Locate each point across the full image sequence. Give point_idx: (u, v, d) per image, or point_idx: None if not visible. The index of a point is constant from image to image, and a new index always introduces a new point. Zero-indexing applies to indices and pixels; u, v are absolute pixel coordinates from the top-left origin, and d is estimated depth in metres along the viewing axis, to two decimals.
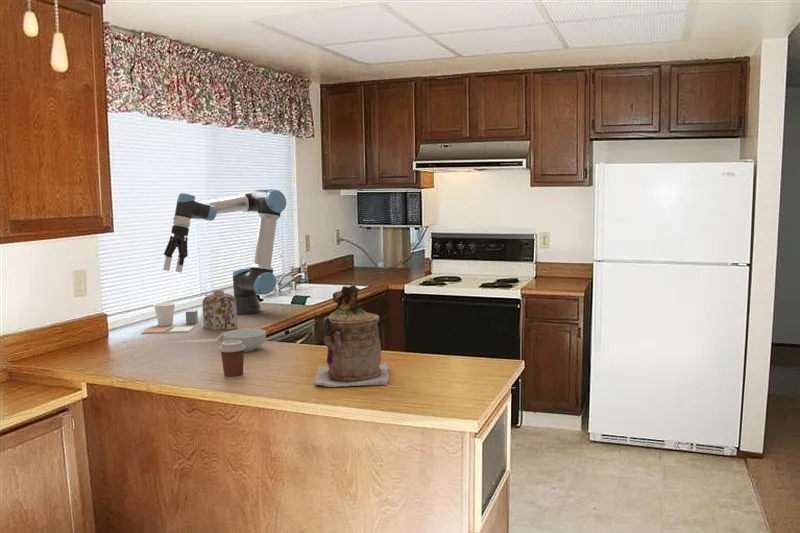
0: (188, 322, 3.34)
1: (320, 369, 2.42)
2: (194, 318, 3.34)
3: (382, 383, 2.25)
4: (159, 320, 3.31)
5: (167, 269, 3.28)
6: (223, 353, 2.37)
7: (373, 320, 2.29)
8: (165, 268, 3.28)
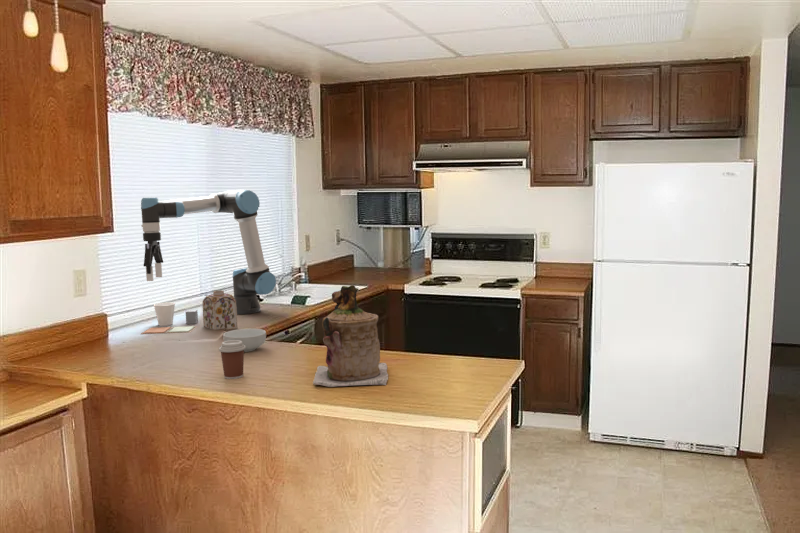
0: (188, 322, 3.34)
1: (319, 369, 2.42)
2: (194, 318, 3.34)
3: (381, 383, 2.25)
4: (159, 320, 3.31)
5: (159, 275, 3.23)
6: (223, 353, 2.37)
7: (372, 320, 2.29)
8: (157, 275, 3.23)
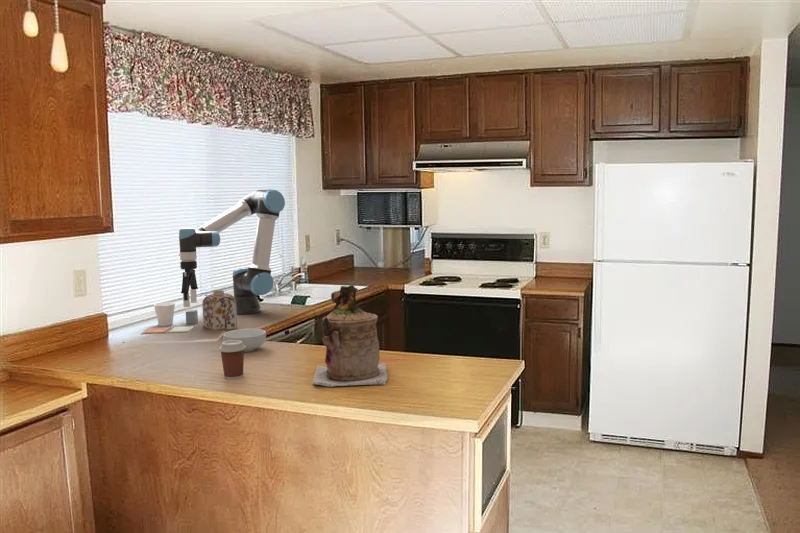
0: (188, 322, 3.34)
1: (318, 369, 2.43)
2: (194, 318, 3.34)
3: (380, 383, 2.25)
4: (159, 320, 3.31)
5: (194, 301, 3.42)
6: (223, 353, 2.37)
7: (371, 320, 2.30)
8: (192, 300, 3.41)
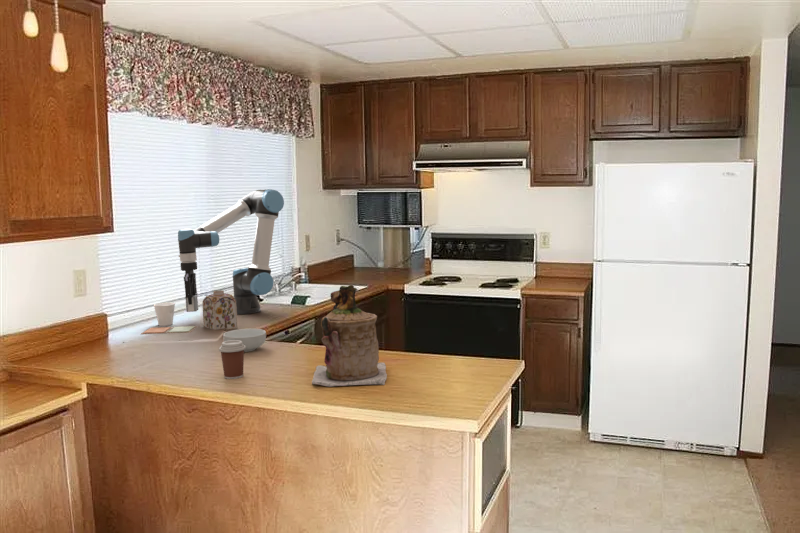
0: None
1: (318, 368, 2.43)
2: (194, 303, 3.34)
3: (380, 382, 2.26)
4: (159, 320, 3.31)
5: None
6: (223, 353, 2.37)
7: (371, 320, 2.30)
8: None
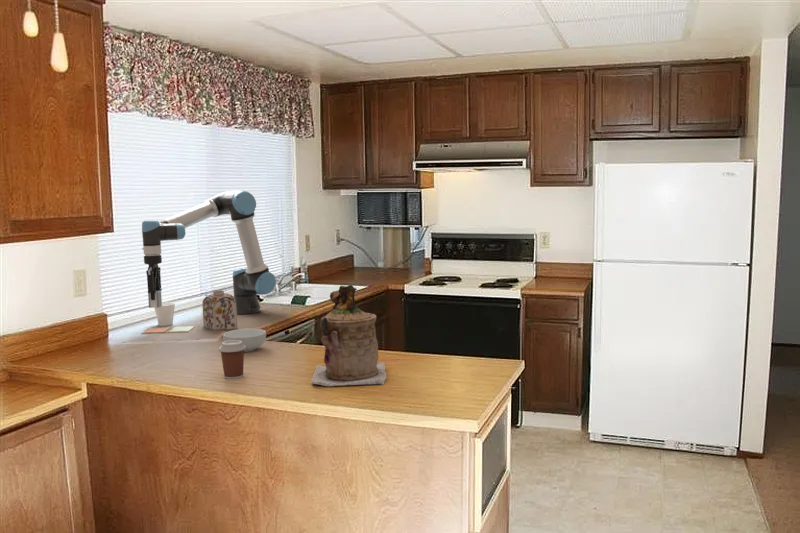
0: None
1: (317, 368, 2.43)
2: (157, 299, 3.15)
3: (379, 382, 2.26)
4: (159, 320, 3.31)
5: None
6: (223, 353, 2.37)
7: (370, 320, 2.30)
8: None
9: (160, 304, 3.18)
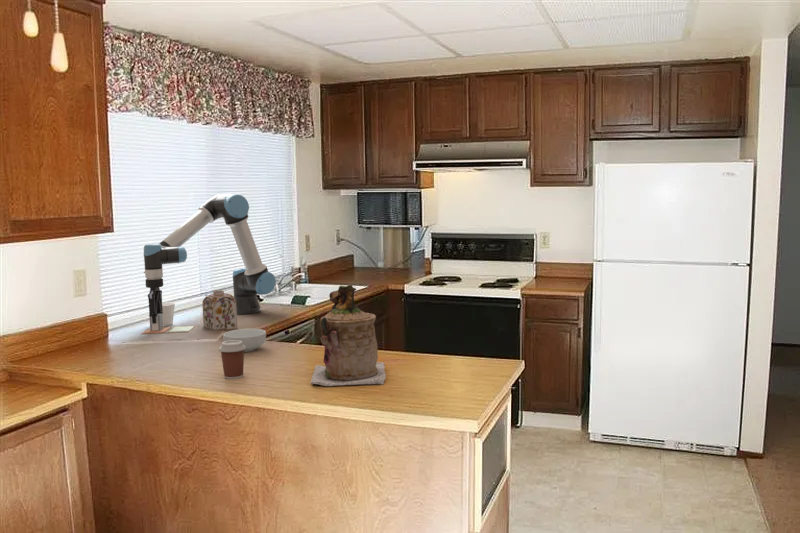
0: None
1: (317, 368, 2.43)
2: (158, 322, 3.16)
3: (378, 382, 2.26)
4: None
5: None
6: (223, 353, 2.37)
7: (369, 319, 2.30)
8: None
9: (161, 327, 3.19)
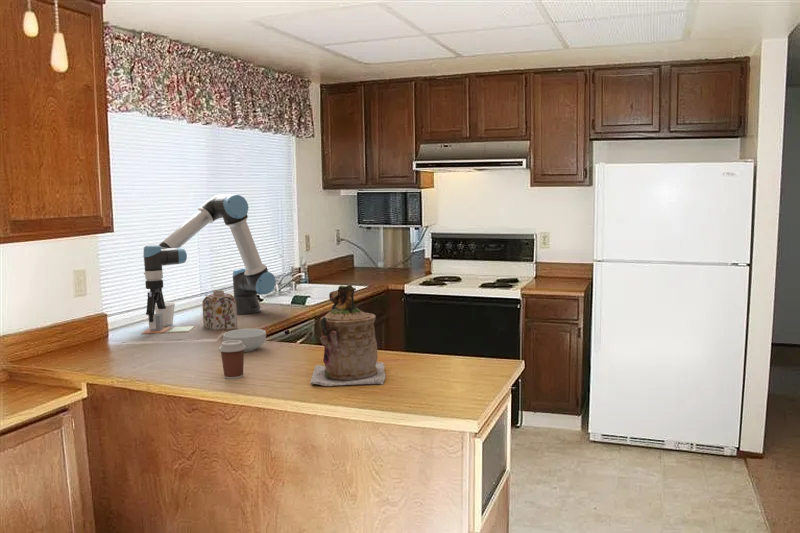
0: None
1: (317, 368, 2.43)
2: (158, 322, 3.16)
3: (378, 382, 2.26)
4: None
5: None
6: (223, 353, 2.37)
7: (369, 319, 2.30)
8: None
9: (161, 327, 3.19)
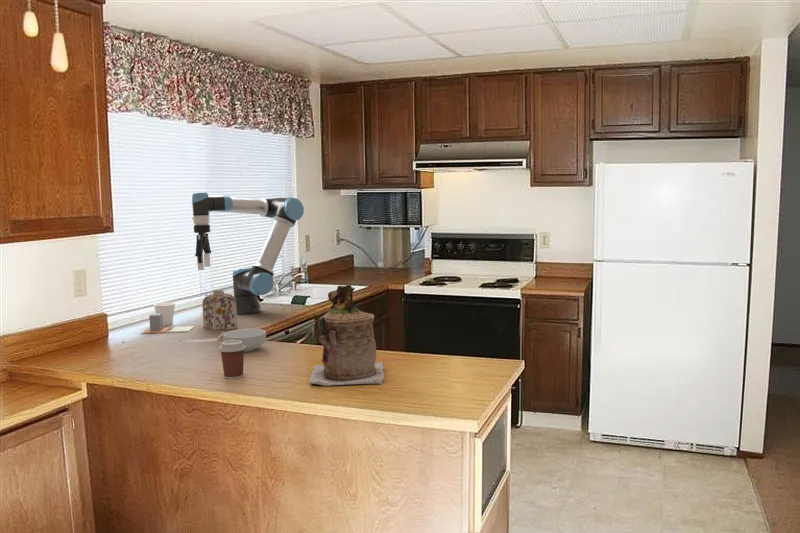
0: (152, 326, 3.16)
1: (316, 368, 2.44)
2: (158, 322, 3.16)
3: (377, 382, 2.26)
4: None
5: (207, 265, 3.45)
6: (223, 353, 2.37)
7: (368, 319, 2.31)
8: (205, 264, 3.45)
9: (161, 327, 3.19)
